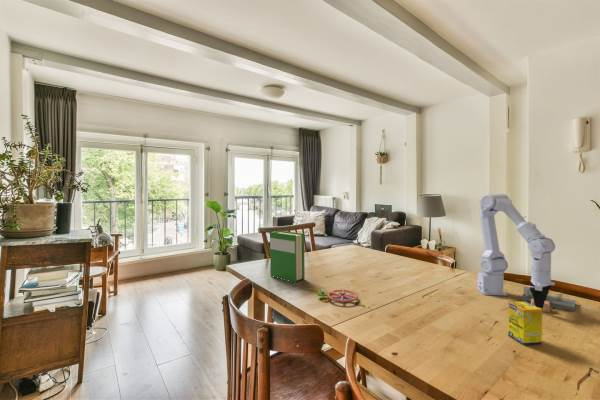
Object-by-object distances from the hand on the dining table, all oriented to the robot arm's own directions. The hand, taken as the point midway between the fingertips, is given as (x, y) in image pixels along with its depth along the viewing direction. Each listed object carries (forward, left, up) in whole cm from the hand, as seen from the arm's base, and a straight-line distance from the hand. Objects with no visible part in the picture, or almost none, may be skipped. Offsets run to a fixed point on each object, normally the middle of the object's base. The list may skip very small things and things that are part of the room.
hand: (540, 304), depth 113 cm
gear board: (+8, +8, -2) cm, 11 cm away
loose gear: (0, 0, -2) cm, 2 cm away
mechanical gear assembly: (-79, +2, -3) cm, 79 cm away
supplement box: (-20, -26, -2) cm, 33 cm away
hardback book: (-105, +26, -2) cm, 108 cm away
